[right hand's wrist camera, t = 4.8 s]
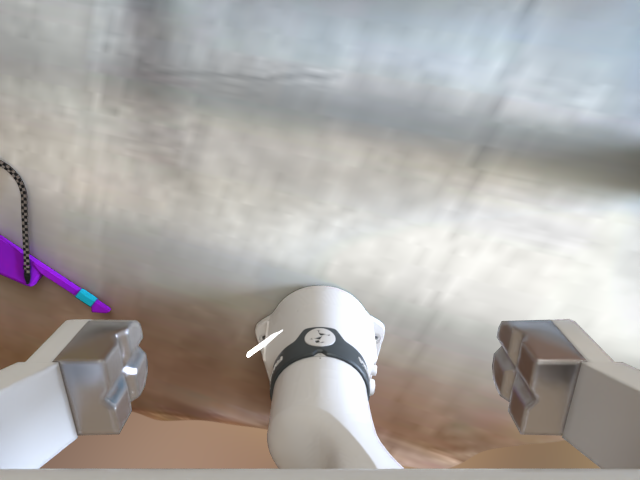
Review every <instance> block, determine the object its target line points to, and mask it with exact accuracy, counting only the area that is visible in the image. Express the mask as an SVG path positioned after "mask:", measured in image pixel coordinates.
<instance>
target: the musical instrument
mask: <svg viewBox="0 0 640 480" xmlns="http://www.w3.org/2000/svg"><path fill="white" fill-rule="evenodd" d="M0 166H1V167H2V168H4V169H5V170H7V171H8V172H9V173H10V174H11V175H12V176H13V178H14V179H15V180H16V182H17V184H18V186H19V189H20V193H21V213H22V234H23V249H21V248H20V247H18V246H17V245H15V244H14V243H12V242H11V241H9V240H8V239H6V238H5V237H3V236H2V235H0V274H1V275H3V276H5V277H8V278H10V279H12V280H15V281H17V282H19V283H22V284H24V285H27V286H30V287H31V286H34V285H36V284H37V282H38V281H39V280H40V278H41V277H42V276H43V275H44V276H46V277H47V278H49V279H50V280H52V281H53V282H55V283H56V284H58V285H60V286H61V287H63V288H64V289H66V290H67V291H69V292H70V293H72V294H73V295H75V297H76V298H77V299H79V300H80V301H82V302H84V303H85V304H87V305H88V306H90V307H91V308H92V312H97V313H108V312H109V311H110V310H111V308H110V307H108V306H107V305H105V304H104V303H102V302H101V301H99V300H98V298H97V297H95V296H94V295H92V294H91V293H89V292H88V291H86V290H85V289H83V288H82V289H81V288H80V287H78V286H77V285H75V284H74V283H72V282H71V281H69V280H68V279H66V278H65V277H63V276H62V275H60V274H59V273H57V272H56V271H54V270H53V269H51V268H50V267H48V266H47V265H45V264H44V263H42V262H41V261H39V260H38V259H36V258H35V257H33V256H32V255H30V254H29V236H28V213H27V193H26V189H25V186H24V183H23V181H22V179H21V178H20V176H19V175H18V174H17V173H16V171H15V170H14V169H13V168H11V167H10V166H9V165H8V164H6V163H5V162H3V161H1V160H0Z"/></svg>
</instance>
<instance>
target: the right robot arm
mask: <svg viewBox="0 0 640 480" xmlns="http://www.w3.org/2000/svg"><path fill="white" fill-rule="evenodd" d="M255 334H256V337H257V340H258V344H259V345H257V346H256V347H254V348H253V349H252V350H250V351H249V352H248V353H247V357H250V356H251V355H253V354H254V353H255V352H257V351H258V350H260V351H261V354H262V357H263V361H264V364H265V367H266V371H267V374H268V378H269V381H270V397H271V401H272V403H271V411H270V418H269V425H268V433H267V442H268V448H269V451H270V454H271V456H272V458H273V460H274V462H275V463H276V465H277V467H278V468H279V469H39V468H40V467H41V466H43V465H44V464H45V463H46V462H48V461H49V460H50V459H51V458H53V457H54V456H55V455H56V454H58V453H59V452H60V451H62V450H63V449H64V448H65V447H67V446H68V445H69V444H70V443H72V442H73V441H74V440H75V439H77V438H78V436H77V435H112V434H120V432H121V430H122V428H123V426H124V425H125V423H126V421H127V419H128V417H129V415H130V414H131V412H132V408H131V403H130V402H132V401H133V400H135V399H136V398H138V397H139V396H140V395H141V393H142V391H143V389H144V387H145V383H146V378H147V374H148V363H147V356H146V353H145V352H144V351H143V350H142V349H141V348H140V347H139V346H138V345H139V343H140V342H141V340H142V338H143V334H142V329H141V324H140V323H139V322H138V321H137V320H91V319H72V320H67V321H65V322H64V323H63V324H62V325H61V326H60V327H59V328H58V329H57V330H56V331H55V332H54V333H53V334H52V335H51V336H50V337H49V338H48V339H47V340H46V341H45V342H44V343H43V344H42V345H41V346H40V347H39V348H38V350H37V351H36V352H35V353H34V354H33V355H32V356H31V357H30V358H29V359H28V360H27V361H26V362H17V363H15V364H13V365H10V366H8V367H6V368H4V369H2V370H0V480H640V370H638V369H636V368H634V367H632V366H630V365H627V364H625V363H623V362H614V361H613V360H612V359H611V358H610V357H609V356H608V355H607V354H606V353H605V351H604V350H603V349H602V348H601V347H600V346H599V345H598V344H597V343H596V342H595V341H594V340H593V339H592V338H591V337H590V336H589V335H588V334H587V333H586V332H585V331H584V330H583V329H582V328H581V327H580V326H579V325H578V324H577V323H576V322H575V321H573V320H570V319H557V320H525V321H502V322H501V324H500V326H499V328H498V333H497V338H498V340H499V342H500V343H501V345H502V346H501V347H500V348H499V349H498V350H497V351H496V352H495V353H494V357H493V364H492V370H493V380H494V383H495V386H496V389H497V391H498V393H499V395H500V396H501V397H502V398H504V399H505V400H507V401H508V402H510V403H509V408H508V412H509V414H510V415H511V417H512V419H513V421H514V423H515V425H516V426H517V428H518V430H519V432H520V434H527V435H563V436H562V438H564V439H565V440H566V441H567V442H569V443H570V444H571V445H572V446H574V447H575V448H576V449H577V450H579V451H580V452H581V453H582V454H584V455H585V456H586V457H588V458H589V459H590V460H591V461H593V462H594V463H595V464H596V465H598V466H599V467H600V468H601V469H404V468H403V467H402V466H401V465H400V464H399V463H398V462H397V461H396V460H395V459H394V458H393V457H392V456H391V455H390V453H389V452H388V451H387V450H386V448H385V447H384V446H383V444H382V443H381V441H380V440H379V438H378V436H377V434H376V431H375V428H374V425H373V421H372V417H371V413H370V408H369V402H368V401H369V397H370V396H372V395H373V394H374V390H375V380H373V379H371V378H372V375H376V373H377V366H376V365H375V364H376V361H377V357H378V354H379V351H380V347H381V344H382V340H383V337H384V334H385V327H384V324H383V323H382V322H381V321H379V320H378V319H376V318H374V317H373V316H371V315H369V314H368V313H367V311H366V310H365V309H364V307H363V306H362V305H361V303H360V302H359V301H358V300H357V299H356V298H355V297H353V296H352V295H351V294H349V293H347V292H346V291H343V290H341V289H338V288H335V287H331V286H321V285H319V286H309V287H305V288H302V289H299V290H297V291H294V292H293V293H291V294H289V295H288V296H287V297H285V298H284V299H283V300H282V301H281V302H280V303H279V305H278V306H277V307H276V309H275V310H274V311H273V313H272V314H271V315H269V316H267V317H266V318H264V319H262V320H261V321H259V322H258V323H257V324H256V327H255ZM264 335H266V336H265V337H263V336H264ZM374 335H376V336H377V337H375V336H374Z"/></svg>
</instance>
